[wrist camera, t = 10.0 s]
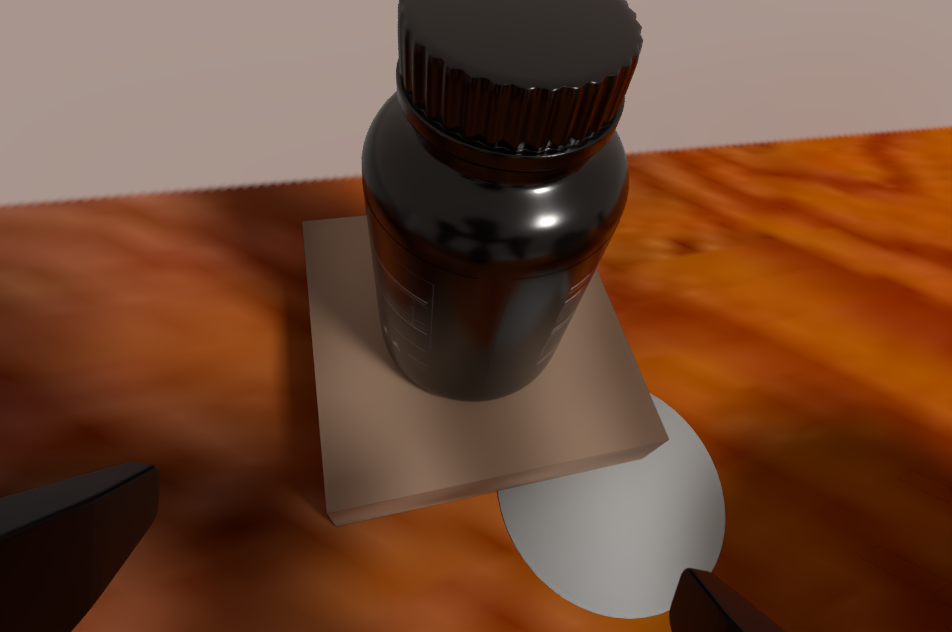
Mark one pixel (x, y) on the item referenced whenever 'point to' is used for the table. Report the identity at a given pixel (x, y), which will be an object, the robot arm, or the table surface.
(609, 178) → the supplement bottle
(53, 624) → the robot arm
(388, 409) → the light brown block
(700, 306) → the table surface
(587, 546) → the grey coaster
